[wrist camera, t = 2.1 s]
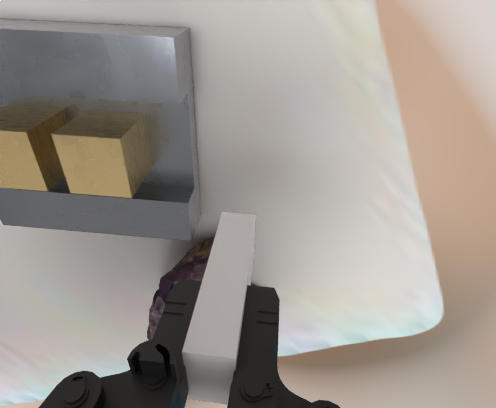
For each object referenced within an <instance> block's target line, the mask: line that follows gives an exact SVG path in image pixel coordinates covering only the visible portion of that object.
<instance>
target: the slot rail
mask: <svg viewBox="0 0 496 408" xmlns="http://www.w3.org/2000/svg"><path fill="white" fill-rule="evenodd" d="M6 105H13V106H28V107H44V108H59V109H64V110H65V114H66V117H67V121H68V122H70V121H71V120H72V119H74V118H75V117H77V116H78V115H80V114H81V113H82V112H84V111H85V110H90V111H106V112H121V113H136V114H145V121H146V127H147V134H148V141H149V147H150V154H151V161H152V167H153V168H152V169H151V171H150V172H149V173H148V175H147V176H146V178H145V179H144V181H143V182H142V184H141V185H140V187H139V188H138V190H137V191H136V193H135V194H134V196H133V197H132V198H125V197H113V196H100V195H88V194H75V193H70V190H69V187H68V184H67V181H66V178H65V176H64V177H63V178H62V179H61V180H60V181H59V182H57V183H56V184H55V185H54V186H53V187H52V188H51V189H50V190H49V191H37V190H25V189H12V188H0V219H1V221H2V223H3V225H12V226H24V227H36V228H47V229H59V230H70V231H82V232H93V233H105V234H116V235H128V236H140V237H151V238H163V239H174V240H186V241H192V238H193V235H194V232H195V229H196V226H197V223H198V221H199V218H200V215H201V207H200V191H199V174H198V158H197V142H196V126H195V110H194V93H193V77H192V61H191V45H190V29H189V28H180V27H159V26H139V25H119V24H98V23H78V22H58V21H37V20H17V19H0V108H2V107H4V106H6Z"/></svg>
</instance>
